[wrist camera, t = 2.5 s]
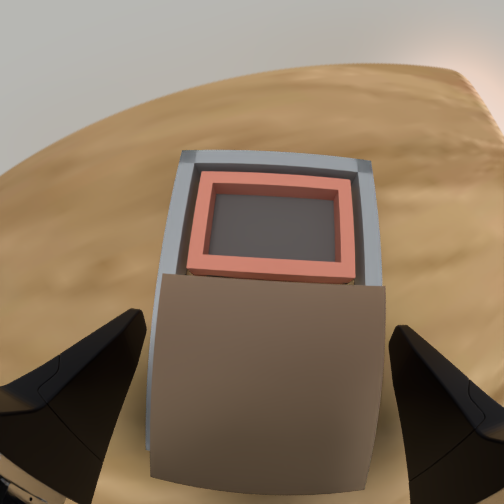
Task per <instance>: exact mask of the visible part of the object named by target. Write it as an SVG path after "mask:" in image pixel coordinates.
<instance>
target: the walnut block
mask: <svg viewBox="0 0 504 504" xmlns="http://www.w3.org/2000/svg"><path fill="white" fill-rule="evenodd" d="M385 320H386V293H385V286H365V285H339V284H316V283H296V282H278V281H261V280H245V279H230V278H216V277H203V276H190V275H178V274H166V273H163V274H162V281H161V288H160V296H159V304H158V313H157V322H156V332H155V343H154V355H153V369H152V386H151V410H150V474H151V477H153V478H157V479H161V480H165V481H169V482H174V483H178V484H183V485H188V486H193V487H199V488H205V489H211V490H219V491H226V492H235V493H246V494H262V495H316V494H331V493H342V492H351V491H358V490H364V489H365V485H366V481H367V476H368V472H369V467H370V463H371V458H372V452H373V447H374V441H375V435H376V429H377V422H378V415H379V407H380V399H381V390H382V379H383V366H384V350H385Z"/></svg>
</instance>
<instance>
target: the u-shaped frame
mask: <svg viewBox="0 0 504 504" xmlns="http://www.w3.org/2000/svg"><path fill="white" fill-rule="evenodd" d="M202 171H214V172H253V173H274V174H291V175H305V176H317V177H328V178H339V179H348V180H350V183H351V194H352V207H353V222H354V242H355V278H354V285H365V286H382V264H381V246H380V232H379V221H378V211H377V202H376V193H375V186H374V178H373V171H372V165H371V161H368V160H361V159H353V158H345V157H336V156H326V155H315V154H304V153H290V152H273V151H248V150H182V153H181V157H180V161H179V166H178V170H177V174H176V179H175V183H174V188H173V192H172V197H171V202H170V207H169V212H168V217H167V223H166V228H165V234H164V239H163V245H162V251H161V257H160V264H159V270H158V277H157V285H156V292H155V300H154V308H153V317H152V327H151V337H150V348H149V361H148V376H147V396H146V450H149V451H150V410H151V386H152V369H153V355H154V343H155V332H156V322H157V313H158V304H159V296H160V288H161V281H162V274H163V273H166V274H178V275H186V271H187V268H186V267H187V259H188V252H189V245H190V238H191V231H192V225H193V218H194V212H195V206H196V200H197V194H198V189H199V183H200V177H201V172H202Z"/></svg>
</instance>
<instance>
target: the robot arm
mask: <svg viewBox="0 0 504 504" xmlns="http://www.w3.org/2000/svg"><path fill="white" fill-rule="evenodd" d="M146 331H147V328H146V323H145V319H144V316H143V312H142V311H141V310H140V309H133V308H131V309H129V310H127V311H126V312H124V313H123V314H121V315H119V316H118V317H116V318H115V319H113V320H112V321H110V322H109V323H107V324H105V325H104V326H102V327H101V328H99V329H98V330H96V331H95V332H93V333H91V334H90V335H88V336H87V337H85V338H84V339H82V340H81V341H79V342H78V343H76V344H74V345H73V346H71V347H70V348H68V349H67V350H65V351H64V352H62V353H61V354H60V355H58V356H56V357H54V358H53V359H51V360H50V361H48V362H47V363H45V364H43V365H42V366H40V367H38V368H37V369H35V370H33V371H31V372H29V373H28V374H26V375H24V376H22V377H20V378H18V379H16V380H14V381H13V382H11V383H9V384H7V385H4V386H0V504H64V503H65V500H66V498H68V499H70V500H72V501H74V502H76V503H78V504H91V503H92V499H93V495H94V492H95V488H96V485H97V481H98V478H99V475H100V471H101V468H102V465H103V461H104V458H105V455H106V452H107V449H108V446H109V443H110V440H111V437H112V434H113V431H114V428H115V425H116V422H117V419H118V416H119V414H120V411H121V408H122V405H123V403H124V400H125V397H126V394H127V392H128V389H129V386H130V384H131V381H132V379H133V376H134V373H135V371H136V368H137V365H138V361H139V357H140V354H141V350H142V346H143V343H144V339H145V335H146ZM389 355H390V363H391V371H392V380H393V386H394V391H395V396H396V401H397V406H398V411H399V416H400V422H401V428H402V434H403V440H404V447H405V454H406V461H407V470H408V479H409V491H410V504H504V407H502V406H501V405H500V404H498V403H497V402H496V401H495V400H493V399H492V398H491V397H490V396H488V395H487V394H486V393H485V392H483V391H482V390H481V389H480V388H479V387H478V386H477V385H475V384H474V383H473V382H472V381H471V380H469V378H468V377H467V376H465V375H464V374H463V373H462V372H461V371H460V370H459V369H458V368H457V367H455V366H454V365H453V364H452V363H451V362H450V361H449V360H447V359H446V358H445V357H444V356H443V355H442V354H441V353H439V352H438V351H437V350H436V349H435V348H434V347H433V346H431V345H430V344H429V343H428V342H427V341H426V340H424V339H423V338H422V337H421V336H420V335H418V334H417V333H416V332H415V331H414V330H413V329H411V328H410V327H409V326H408V325H397V326H396V327H395V329H394V332H393V334H392V336H391V339H390V341H389Z"/></svg>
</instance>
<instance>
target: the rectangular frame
mask: <svg viewBox="0 0 504 504" xmlns="http://www.w3.org/2000/svg"><path fill="white" fill-rule="evenodd" d="M186 268H187V269H188V270H189V271H190V272H191V273H192V274H193V275H198V276H211V277H225V278H239V279H255V280H271V281H289V282H308V283H329V284H347V283H349V282H350V281H352V280H353V279H354V278H355V242H354V222H353V207H352V194H351V183H350V180H348V179H339V178H328V177H317V176H305V175H291V174H274V173H253V172H214V171H202V172H201V177H200V183H199V189H198V194H197V200H196V206H195V212H194V218H193V225H192V231H191V238H190V245H189V252H188V259H187V267H186Z"/></svg>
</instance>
